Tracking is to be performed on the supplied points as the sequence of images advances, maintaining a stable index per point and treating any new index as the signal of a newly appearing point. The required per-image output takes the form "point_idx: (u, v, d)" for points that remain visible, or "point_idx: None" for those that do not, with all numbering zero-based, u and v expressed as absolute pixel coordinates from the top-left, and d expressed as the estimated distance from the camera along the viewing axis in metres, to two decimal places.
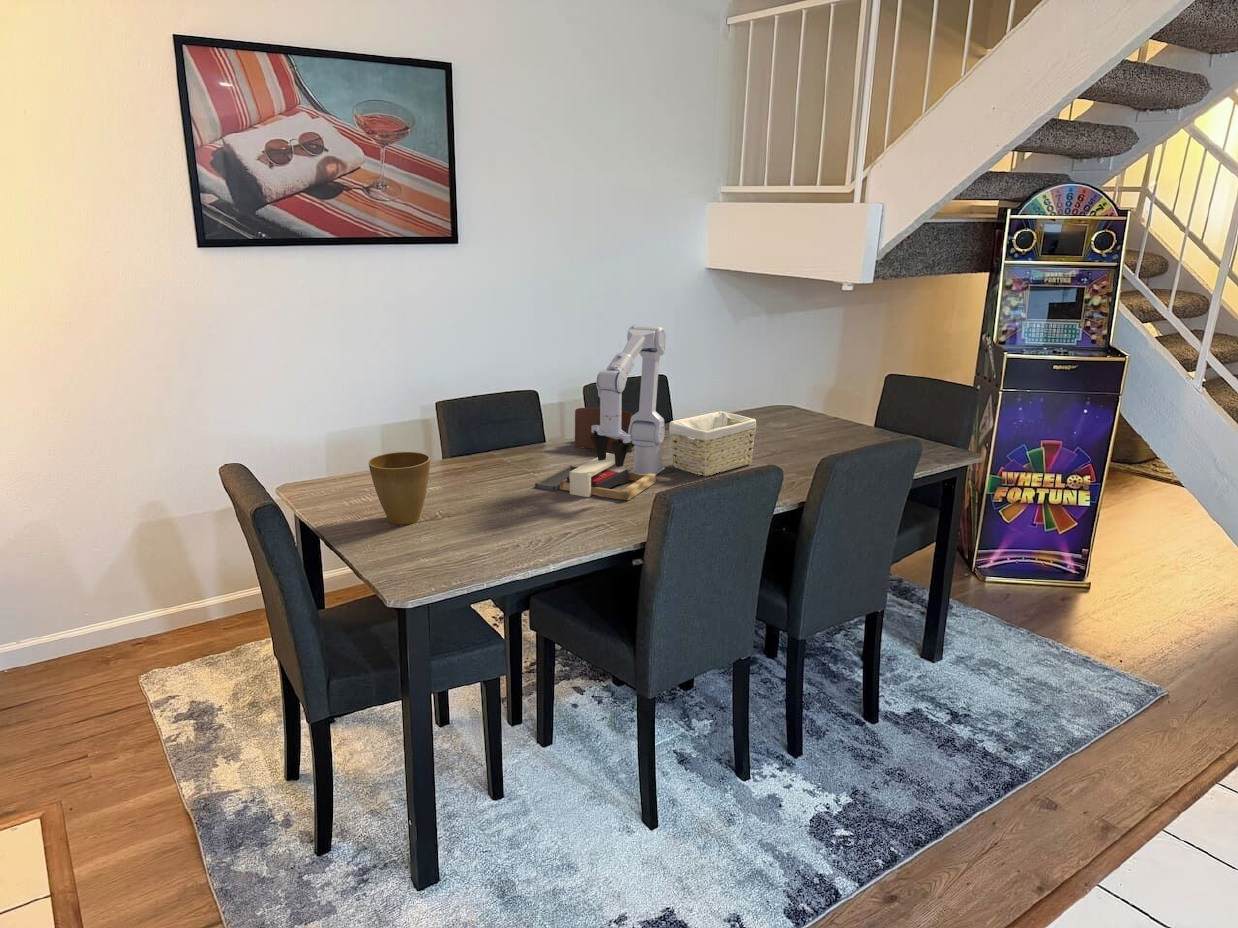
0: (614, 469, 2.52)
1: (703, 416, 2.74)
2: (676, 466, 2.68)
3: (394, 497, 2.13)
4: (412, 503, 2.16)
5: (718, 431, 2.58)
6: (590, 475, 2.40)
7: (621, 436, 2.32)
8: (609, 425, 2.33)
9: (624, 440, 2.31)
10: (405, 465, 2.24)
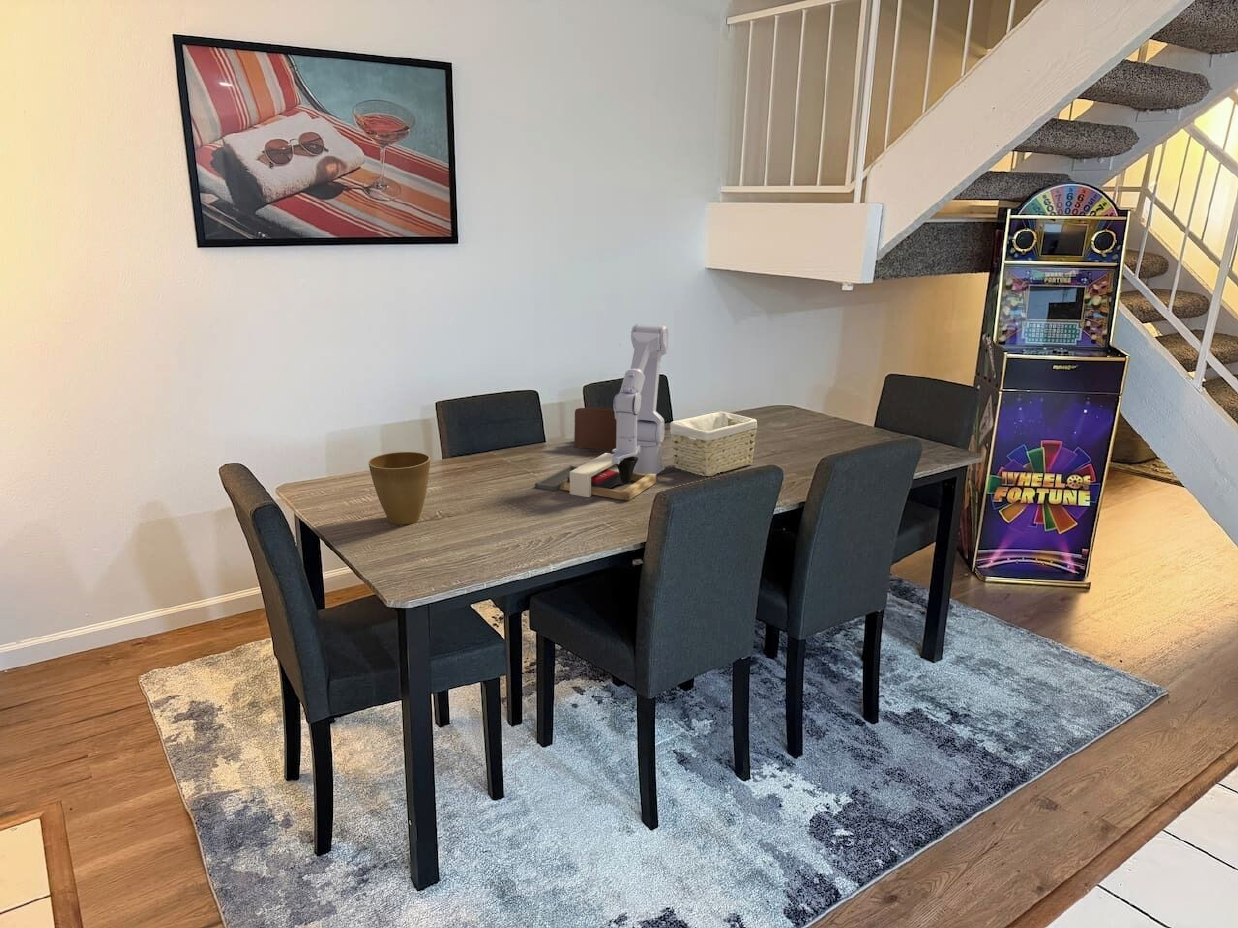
0: (615, 469, 2.52)
1: (704, 416, 2.74)
2: (677, 466, 2.68)
3: (394, 497, 2.13)
4: (412, 503, 2.16)
5: (719, 431, 2.58)
6: (590, 475, 2.40)
7: (613, 456, 2.40)
8: (616, 444, 2.43)
9: None
10: (405, 465, 2.24)
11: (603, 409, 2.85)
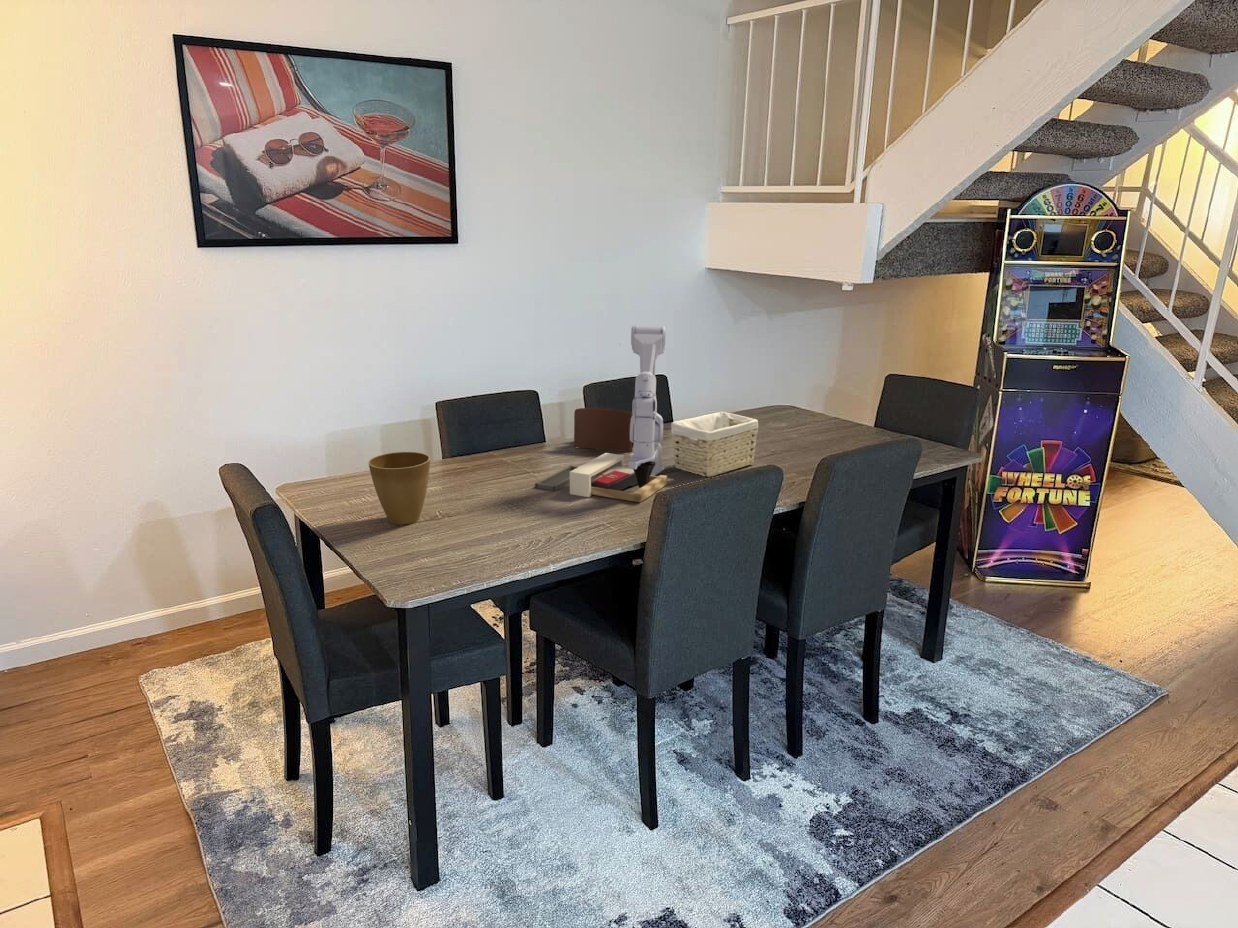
0: (625, 471, 2.50)
1: (705, 416, 2.74)
2: (678, 467, 2.67)
3: (394, 497, 2.13)
4: (412, 503, 2.16)
5: (721, 432, 2.57)
6: (590, 475, 2.40)
7: (630, 461, 2.38)
8: (633, 449, 2.41)
9: None
10: (405, 465, 2.24)
11: (603, 409, 2.85)
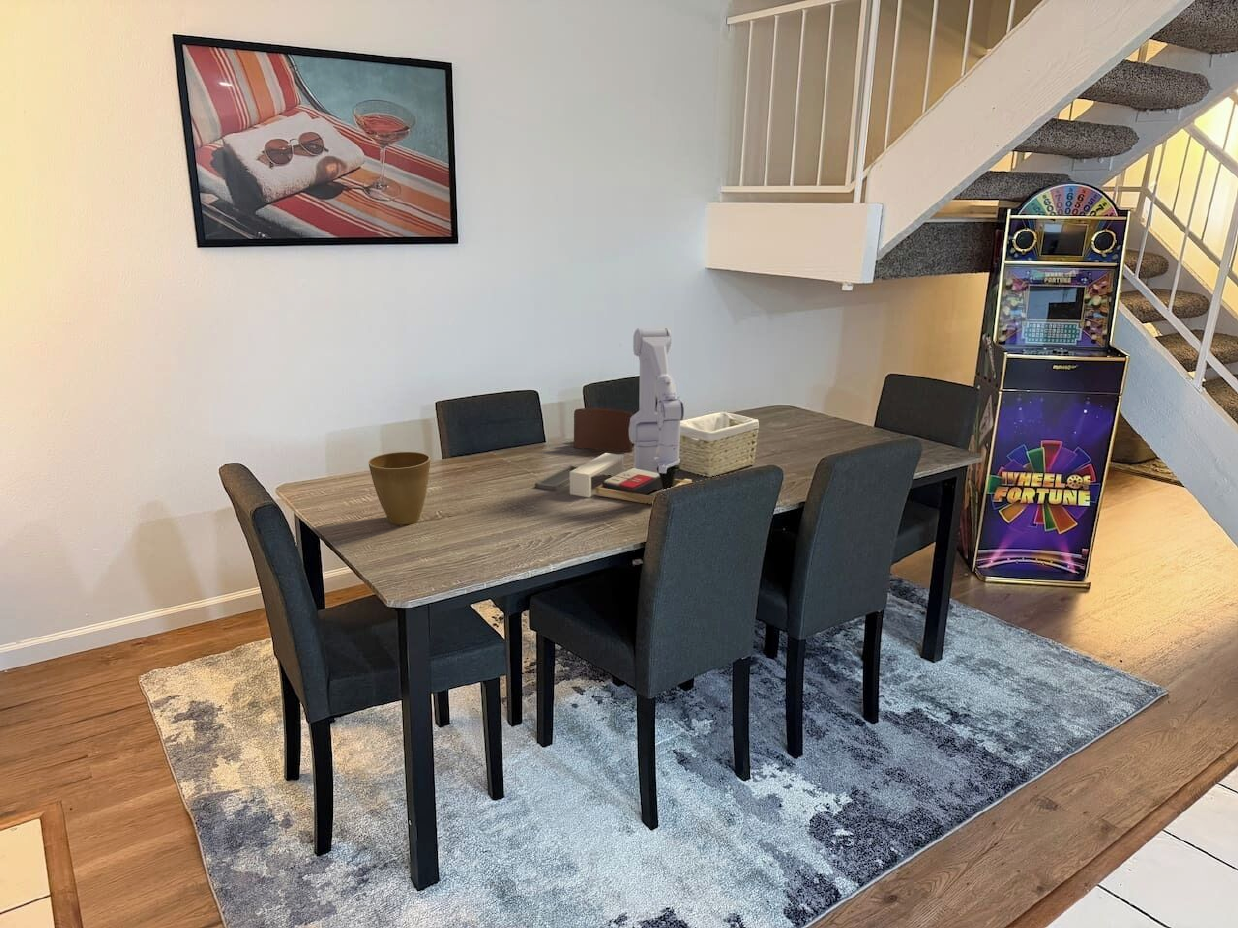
0: (650, 474, 2.47)
1: (705, 417, 2.73)
2: None
3: (394, 497, 2.13)
4: (412, 503, 2.16)
5: (722, 432, 2.57)
6: (590, 475, 2.40)
7: (659, 465, 2.34)
8: (659, 453, 2.37)
9: (658, 470, 2.33)
10: (405, 465, 2.24)
11: (603, 409, 2.85)
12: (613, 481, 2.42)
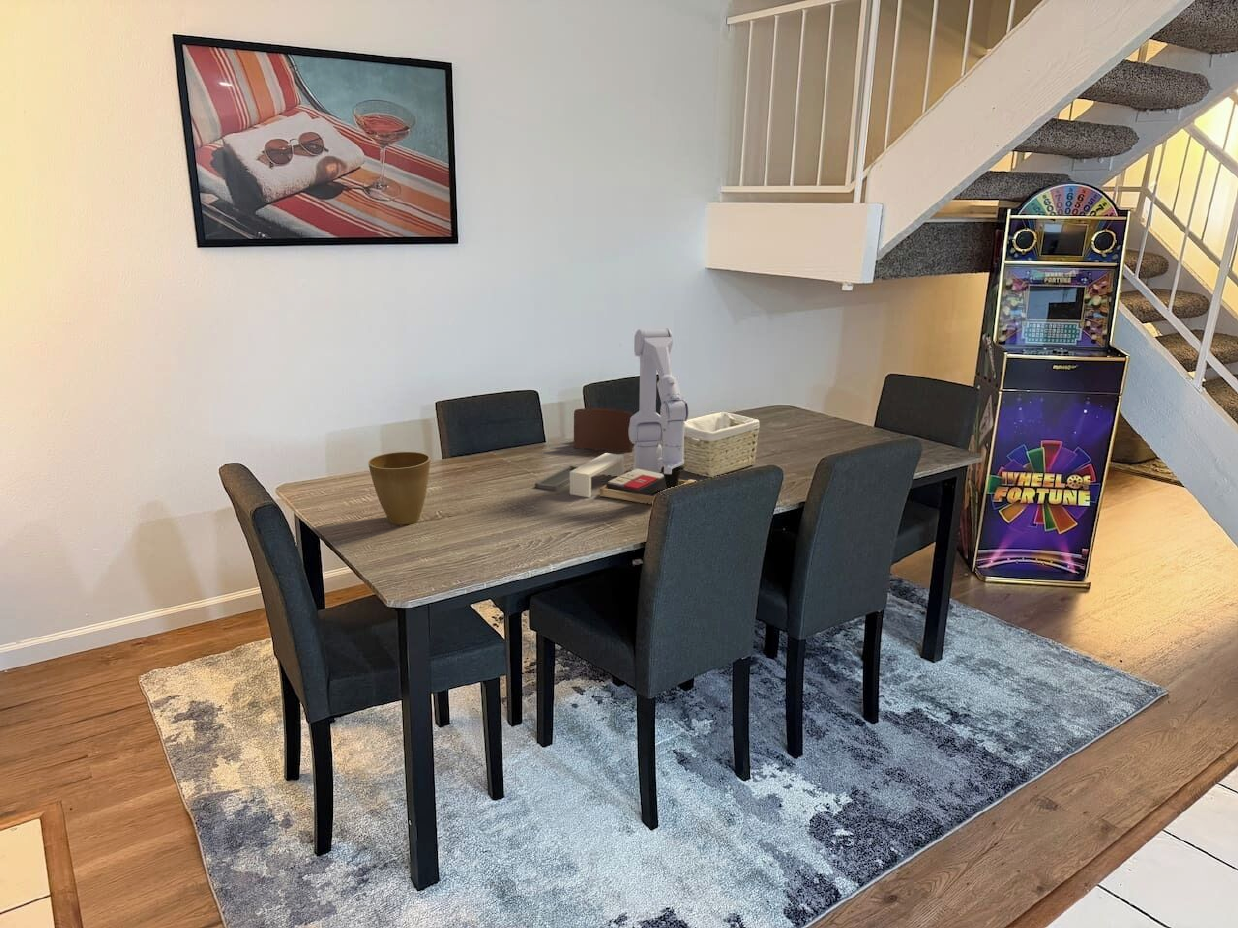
0: (654, 475, 2.47)
1: (706, 417, 2.73)
2: None
3: (394, 497, 2.13)
4: (412, 503, 2.16)
5: (723, 432, 2.57)
6: (590, 475, 2.40)
7: (664, 466, 2.34)
8: (663, 453, 2.37)
9: (664, 470, 2.33)
10: (405, 465, 2.24)
11: (603, 410, 2.84)
12: (617, 482, 2.42)
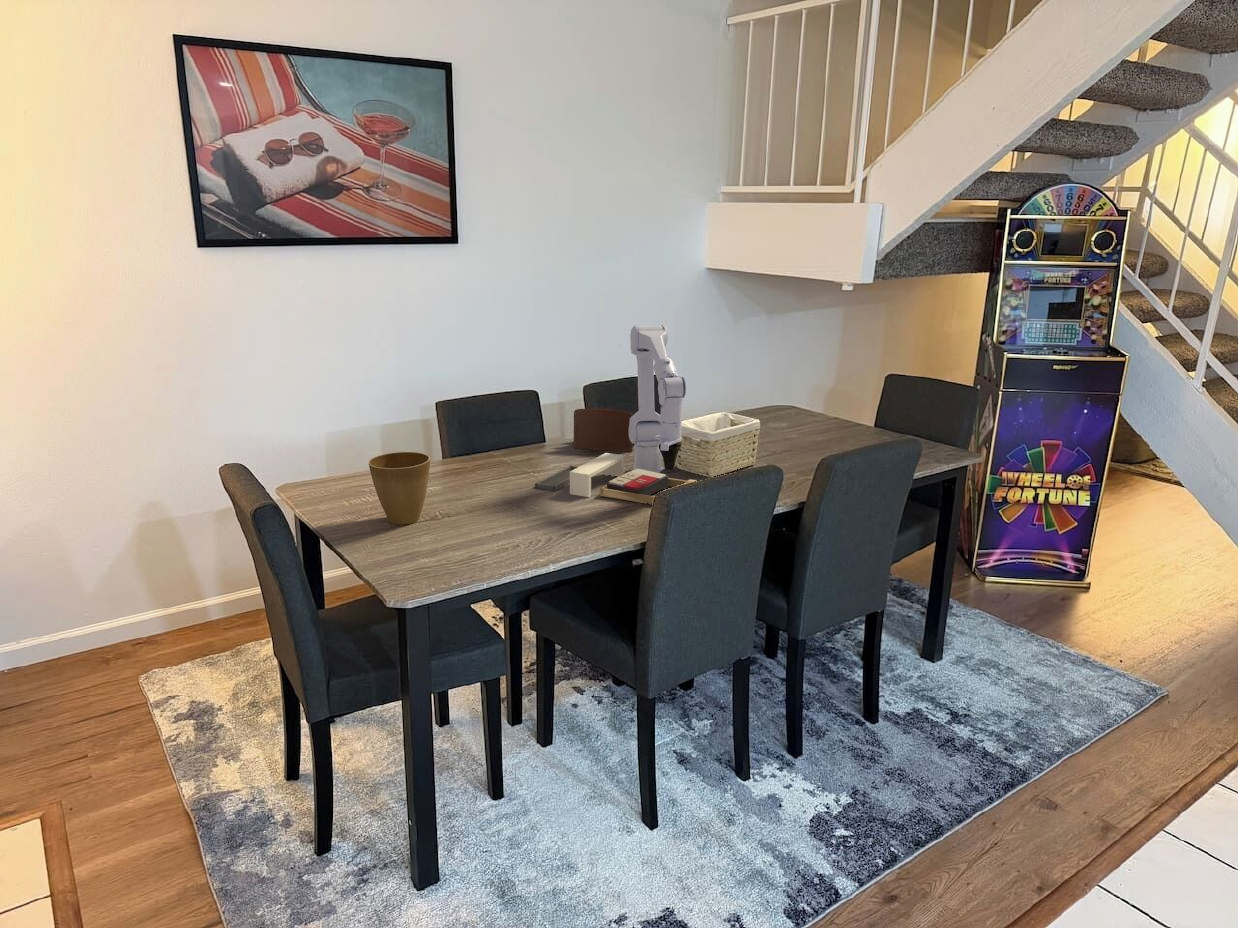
0: (654, 475, 2.47)
1: (706, 417, 2.73)
2: (680, 467, 2.67)
3: (394, 497, 2.13)
4: (412, 503, 2.16)
5: (723, 432, 2.57)
6: (590, 475, 2.40)
7: (661, 443, 2.32)
8: (661, 430, 2.36)
9: (661, 447, 2.31)
10: (405, 465, 2.24)
11: (603, 410, 2.84)
12: (618, 482, 2.41)
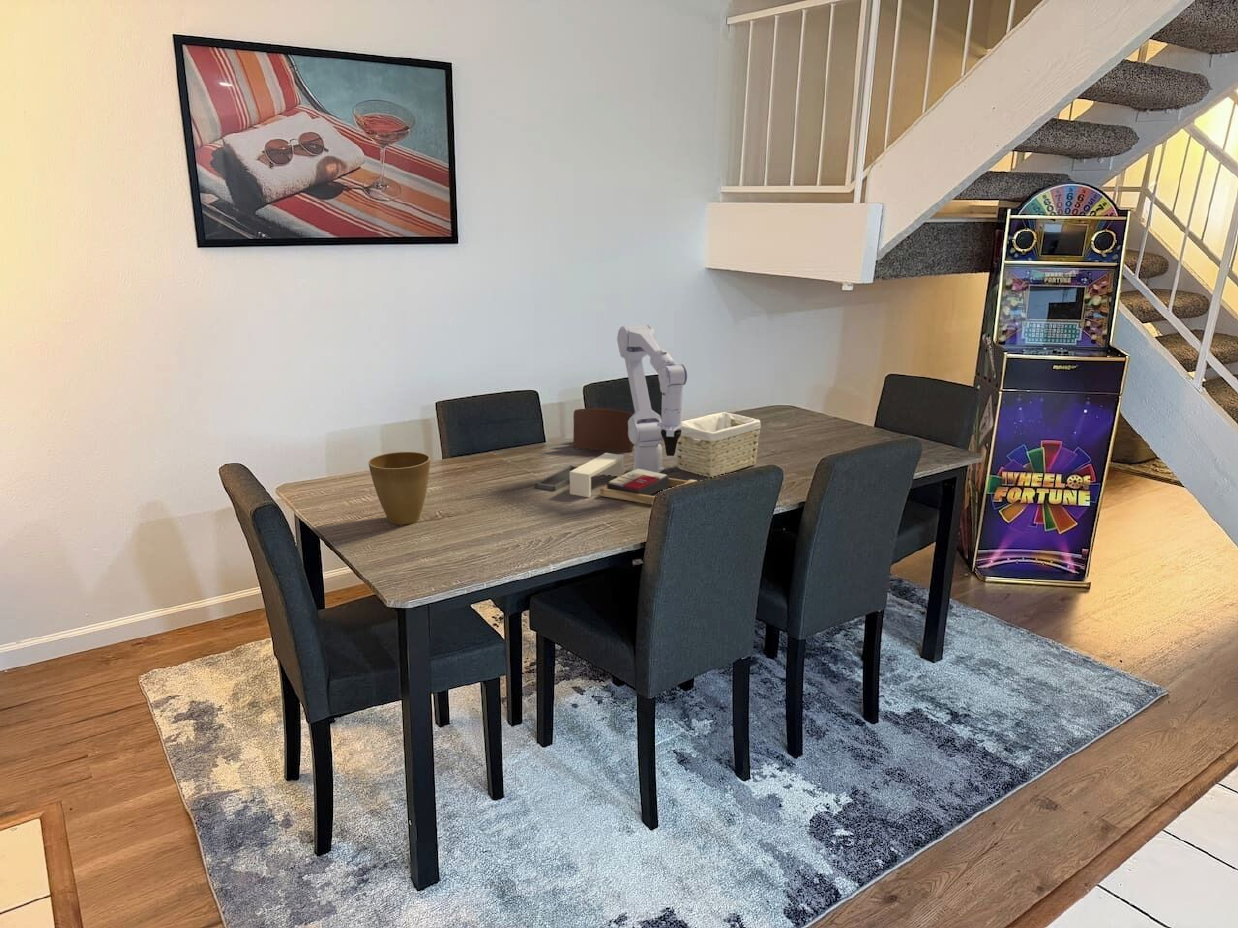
0: (654, 475, 2.47)
1: (707, 417, 2.73)
2: (681, 467, 2.67)
3: (394, 497, 2.13)
4: (412, 503, 2.16)
5: (724, 432, 2.57)
6: (590, 475, 2.40)
7: (666, 429, 2.40)
8: (663, 417, 2.43)
9: None
10: (405, 465, 2.24)
11: (603, 410, 2.84)
12: (618, 482, 2.41)
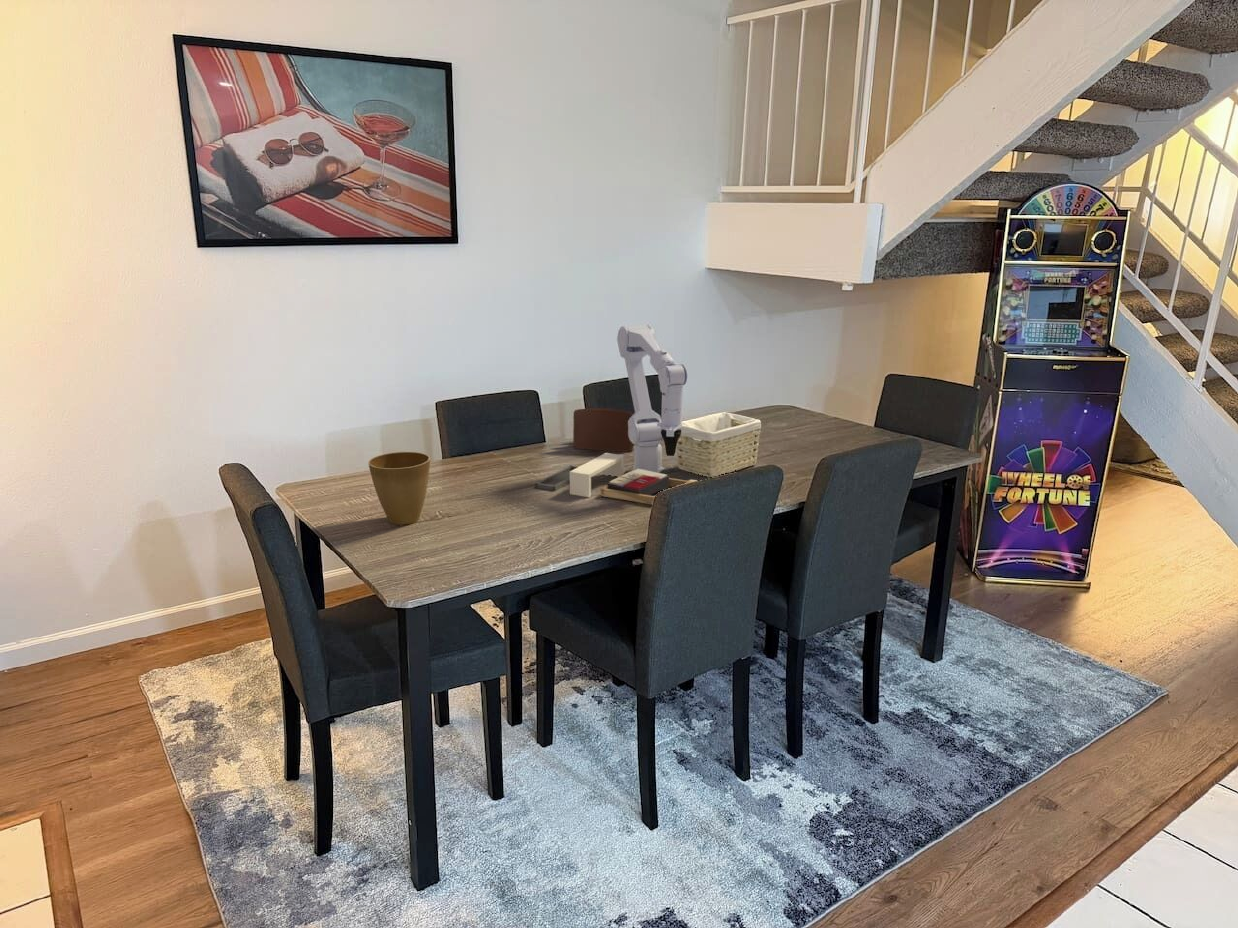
0: (655, 475, 2.47)
1: (707, 417, 2.73)
2: (681, 468, 2.67)
3: (394, 497, 2.13)
4: (412, 503, 2.16)
5: (724, 432, 2.57)
6: (590, 475, 2.40)
7: (666, 429, 2.40)
8: (663, 417, 2.43)
9: None
10: (405, 465, 2.24)
11: (603, 410, 2.84)
12: (618, 482, 2.41)
